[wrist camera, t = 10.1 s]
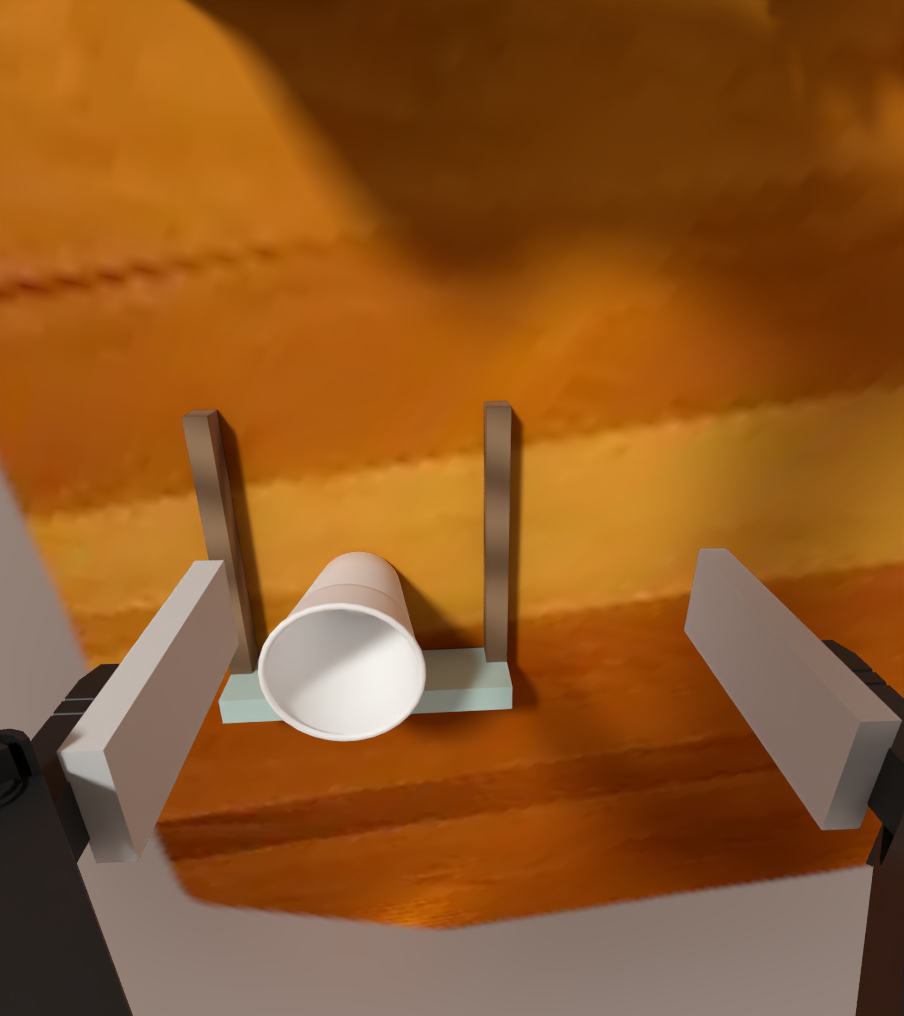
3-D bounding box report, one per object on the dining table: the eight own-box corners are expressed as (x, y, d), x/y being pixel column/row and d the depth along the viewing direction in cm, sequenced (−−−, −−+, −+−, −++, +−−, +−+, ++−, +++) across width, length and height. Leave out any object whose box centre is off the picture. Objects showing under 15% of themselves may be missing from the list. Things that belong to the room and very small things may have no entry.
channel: (192, 410, 40) (181, 417, 38) (507, 400, 40) (511, 407, 39) (242, 679, 48) (235, 695, 46) (503, 667, 49) (506, 682, 47)
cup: (393, 657, 48) (385, 761, 38) (275, 613, 46) (233, 711, 36) (447, 557, 45) (454, 641, 34) (323, 505, 43) (293, 578, 32)
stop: (238, 658, 47) (218, 701, 42) (503, 646, 48) (512, 686, 43) (242, 679, 48) (223, 723, 43) (503, 667, 49) (511, 708, 44)
